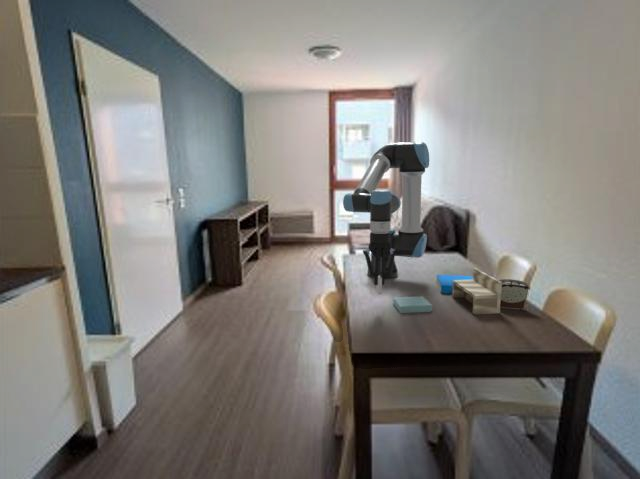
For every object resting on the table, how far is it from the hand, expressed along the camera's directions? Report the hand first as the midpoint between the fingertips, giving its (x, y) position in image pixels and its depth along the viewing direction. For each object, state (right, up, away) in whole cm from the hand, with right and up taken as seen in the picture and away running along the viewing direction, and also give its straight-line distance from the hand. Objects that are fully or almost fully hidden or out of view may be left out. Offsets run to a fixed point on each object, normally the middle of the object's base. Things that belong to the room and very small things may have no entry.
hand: (378, 292), depth 147 cm
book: (+43, -2, +25) cm, 50 cm away
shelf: (+38, -5, +5) cm, 39 cm away
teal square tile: (+13, -6, +3) cm, 15 cm away
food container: (+51, -6, +3) cm, 52 cm away
